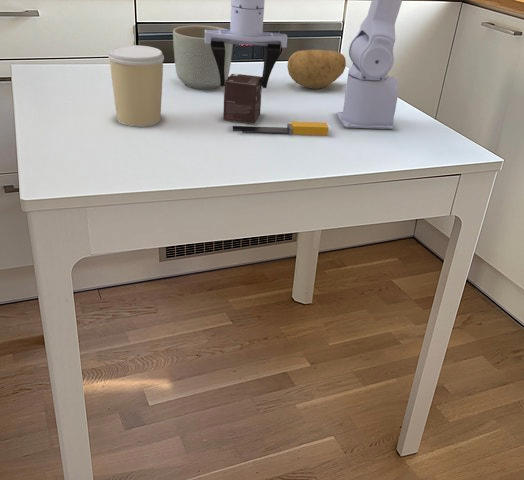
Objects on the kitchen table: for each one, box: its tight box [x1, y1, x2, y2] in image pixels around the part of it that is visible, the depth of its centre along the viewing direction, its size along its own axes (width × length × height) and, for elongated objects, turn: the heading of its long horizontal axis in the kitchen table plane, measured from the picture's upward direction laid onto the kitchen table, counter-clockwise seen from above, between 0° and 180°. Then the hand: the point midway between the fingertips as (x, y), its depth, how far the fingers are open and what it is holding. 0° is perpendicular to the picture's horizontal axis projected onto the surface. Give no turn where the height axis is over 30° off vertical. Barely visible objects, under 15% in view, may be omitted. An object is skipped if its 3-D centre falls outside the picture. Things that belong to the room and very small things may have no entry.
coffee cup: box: [108, 44, 165, 128], centre depth 113 cm, size 9×9×12 cm
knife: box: [232, 121, 330, 137], centre depth 116 cm, size 17×3×2 cm, turn 96°
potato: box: [287, 49, 347, 90], centre depth 140 cm, size 10×14×8 cm
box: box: [222, 73, 263, 125], centre depth 119 cm, size 6×6×7 cm
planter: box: [172, 24, 234, 90], centre depth 135 cm, size 12×12×11 cm
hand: (243, 85), depth 118 cm, fingers open, 7 cm apart
